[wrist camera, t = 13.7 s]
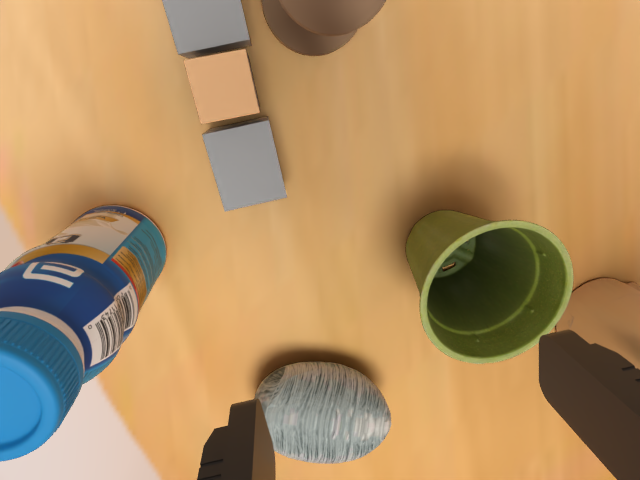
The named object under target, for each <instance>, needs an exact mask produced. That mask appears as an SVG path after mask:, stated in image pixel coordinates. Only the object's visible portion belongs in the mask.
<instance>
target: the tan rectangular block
mask: <svg viewBox="0 0 640 480" xmlns="http://www.w3.org/2000/svg"><path fill="white" fill-rule="evenodd" d="M183 61H184V65H185V68H186V72H187V76H188V79H189V83H190V86H191V90H192V94H193V97H194V101H195V104H196V108H197V112H198V115H199V119H200V123H201V124H205V123H210V122H215V121H220V120H225V119H230V118H236V117H241V116H246V115H251V114H256V113H260V106H259V101H258V97H257V92H256V88H255V83H254V79H253V74H252V70H251V65H250V61H249V56H248V54H247V52H246V49H241V50H236V51H231V52H225V53H220V54H215V55H209V56H204V57H199V58H193V59H188V60H183Z"/></svg>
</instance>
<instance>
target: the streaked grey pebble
mask: <svg viewBox="0 0 640 480" xmlns="http://www.w3.org/2000/svg"><path fill="white" fill-rule="evenodd" d="M254 399H259V400H260V402H261V405H262V409H263V412H264V415H265V419H266V422H267V425H268V429H269V432H270V435H271V439H272V443H273V448H274V451H276V452H278V453H279V454H281V455H284V456H286V457H288V458H292V459H296V460H301V461H305V462H312V463H342V462H346V461H352V460H356V459H358V458H361V457H363V456H365V455H366V454H368V453H370V452H371V451H372V450H374V449H375V448H376V447H378V446H379V445H380V444H381V442H382V441H383V440H384V439H385V437H386V435H387V434H388V432H389V430H390V427H391V414H390V410H389V408H388V405H387V403H386V401H385V399H384V397H383V395H382V393H381V392H380V390H379V389H378V388H377V387H376V386H375V384H374V383H373V382H372V381H371V380H370V379H369V378H368V377H366V376H365V375H364V374H362V373H360V372H359V371H357V370H355V369H352V368H350V367H347V366H345V365H341V364H337V363H331V362H298V363H294V364H290V365H286V366H283V367H281V368H279V369H277V370H275V371H274V372H272V373H271V374H269V375H268V376H267V377H266V378H265V379H264V380H263V381H262V382H261V384H260V385H259V387H258V389H257V391H256V394H255V398H254Z"/></svg>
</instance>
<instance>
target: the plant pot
mask: <svg viewBox="0 0 640 480" xmlns="http://www.w3.org/2000/svg"><path fill="white" fill-rule="evenodd" d="M468 240H469V241H468ZM468 249H469V250H468ZM406 256H407V260H408V263H409V265H410V268H411V271H412V273H413V276H414V279H415V281H416V284H417V287H418V289H419V292H420V316H421V321H422V325H423V327H424V330H425V332H426V334H427V336H428V338H429V339H430V340H431V342H432V343H433V344H434V345H435V346H436V347H437V348H438V349H439V350H440V351H442V352H443V353H444V354H446V355H448V356H450V357H451V358H454V359H457V360H460V361H463V362H468V363H475V364H483V363H494V362H499V361H503V360H506V359H509V358H512V357H515V356H517V355H519V354H521V353H523V352H525V351H527V350H529V349H530V348H532V347H533V346H535V345H536V344H537V343H539V339H540V337H541V336H542V335H545V334H548V333H549V332H550V331H551V330H552V329H553V328H554V326H555V325H556V324H557V322H558V321H559V320H560V318H561V316H562V315H563V313H564V311H565V309H566V307H567V305H568V302H569V299H570V296H571V293H572V287H573V267H572V262H571V258H570V256H569V253H568V251H567V249H566V248H565V246H564V245H563V243H562V242H561V241H560V240H559V238H558V237H557V236H555V235H554V234H553V233H552V232H550V231H549V230H547V229H546V228H544V227H542V226H539V225H537V224H534V223H531V222H526V221H520V220H503V221H489V220H485V219H482V218H478V217H475V216H471V215H468V214H464V213H461V212H457V211H452V210H440V211H436V212H433V213H430V214H428V215H426V216H425V217H423V218H422V219H420V220H419V221H418V222H417V223H416V224H415V225H414V227H413V228H412V230H411V233H410V235H409V237H408V240H407V242H406ZM454 262H455V264H456V265H455V266H454V267H452V268H451V269H448V270H446V271H443V268H442V267H445V266H448V265H450V264H452V263H454Z"/></svg>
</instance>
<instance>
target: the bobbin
mask: <svg viewBox="0 0 640 480" xmlns="http://www.w3.org/2000/svg"><path fill="white" fill-rule="evenodd" d="M385 1H386V0H262V7H263V12H264V16H265V19H266V21H267V24H268V26H269V27H270V29H271V31H272V32H273V34H274V35H275V37H276V38H277V39H278V40H279V41H280V42H281V43H282V44H283V45H285V46H286V47H287V48H289V49H291V50H292V51H295V52H297V53H299V54H303V55H308V56H319V55H325V54H328V53H331V52H333V51H335V50H337V49H339V48H340V47H342V46H343V45H345V44H346V43H347V42H348V41H349V40H350V39H351V38H352V37H353V35H354V34H355V33H356V31H357V30H358V29H359V28H360V27H362V26H363V25H365V24H367V23H368V22H369V21H370V20H371V19H373V17H374V16H375V15H376V14H377V13H378V12H379V11H380V9H381V8H382V6H383V5H384V3H385Z"/></svg>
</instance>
